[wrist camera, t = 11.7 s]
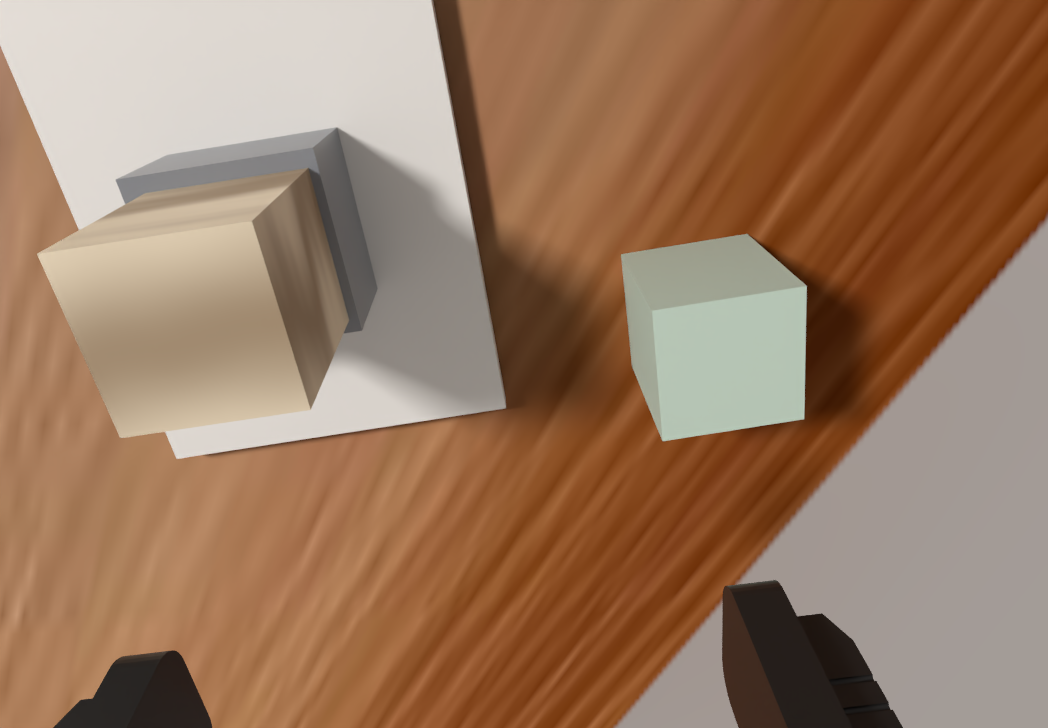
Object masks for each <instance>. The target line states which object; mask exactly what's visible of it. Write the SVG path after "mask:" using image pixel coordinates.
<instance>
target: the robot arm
mask: <svg viewBox="0 0 1048 728" xmlns="http://www.w3.org/2000/svg"><path fill="white" fill-rule="evenodd" d="M722 641H723V642H722V646H723V647H722V661H723V672H724V678H725V683H726V688H727V693H728V697H729V700H730V704H731V707H732V710H733V713H734V715H735V718H736V721H737V724H738V727H739V728H903V727H902V725H901V724H900V722H899V720H898V718H897V717H896V715H895V713H894V711H893V710H890V708H889V704H888V701H887V699H886V697H885V695H884V694H883V692H882V690H881V688H880V687H879V685H878V683H877V681H874V680H873V676H872V673H871V671H870V669H869V668H868V666H867V664H866V662H865V660H864V659H863V657H862V655H861V654H860V652H859V650H858V648H857V646H856V645H855V643H854V641H853V640H852V639H851V638H849V637H848V636H847V635H846V634H845V633H844V632H843V631H842V630H840V629H839V628H838V627H837V626H836V625H835V624H834V623H832V622H831V621H830V620H829V619H828V618H827V617H826V616H824V615H823V614H815V615H806V616H799V617H797V616H796V614H795V612H794V610H793V608H792V606H791V604H790V602H789V600H788V598H787V596H786V594H785V592H784V590H783V588H782V586H781V585H780V583H779V582H778V581H776V580H773V581H765V582H757V583H748V584H740V585H731V586H725V587H724V590H723V637H722ZM53 728H212V724H211V720H210V717H209V715H208V713H207V710H206V708H205V706H204V704H203V702H202V699H201V697H200V695H199V693H198V690H197V688H196V686H195V684H194V682H193V679H192V677H191V675H190V673H189V671H188V668H187V666H186V664H185V662H184V660H183V658H182V656H181V655H180V654H179V653H178V652H177V651H165V652H157V653H148V654H140V655H132V656H123V657H121V658H119V659H117V660H116V661H115V662H114V663H113V664H112V666H111V667H110V669H109V671H108V672H107V674H106V676H105V678H104V679H103V681H102V683H101V685H100V687H99V688H98V690H97V692H96V694H95V695H94V697H93V699H85V700H80V701H79V702H78V703H77V704H76V705H75V706H74V707H73V708H72V709H71V710H70V711H69V712H68V713H67V714H66V715H65V716H64V717H63V718H62V719H61V720H60V721H59V722H58V723H57V724H56V725H55V726H54V727H53Z"/></svg>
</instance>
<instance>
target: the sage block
mask: <svg viewBox="0 0 1048 728" xmlns="http://www.w3.org/2000/svg"><path fill="white" fill-rule="evenodd" d="M621 259H622V269H623V279H624V289H625V300H626V310H627V320H628V330H629V341H630V351H631V361H632V368H633V370H634V373H635V375H636V377H637V380H638V382H639V385H640V387H641V390H642V392H643V395H644V397H645V399H646V402H647V404H648V407H649V409H650V412H651V414H652V417H653V419H654V421H655V424H656V426H657V429H658V431H659V434H660V436H661V439H662V441H667V440H674V439H680V438H687V437H693V436H699V435H706V434H712V433H719V432H725V431H731V430H738V429H744V428H751V427H757V426H764V425H770V424H776V423H783V422H789V421H796V420H802V419H804V408H805V356H806V303H807V286H806V285H805V284H804V283H803V282H802V281H801V280H799V279H798V278H797V277H796V276H795V275H794V274H793V273H791V272H790V271H789V270H788V269H787V268H786V267H785V266H783V265H782V264H781V263H780V262H779V261H778V260H777V259H775V258H774V257H773V256H772V255H771V254H770V253H768V252H767V251H766V250H765V249H764V248H763V247H762V246H760V245H759V244H758V243H757V242H756V241H755V240H754V239H752V238H751V237H750V236H749V235H748V234H744V235H738V236H732V237H725V238H719V239H713V240H707V241H701V242H694V243H688V244H682V245H676V246H670V247H663V248H657V249H651V250H645V251H639V252H632V253H626V254H621Z"/></svg>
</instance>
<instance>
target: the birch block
mask: <svg viewBox="0 0 1048 728" xmlns="http://www.w3.org/2000/svg"><path fill="white" fill-rule="evenodd" d="M37 255H38V257H39V259H40V262H41V264H42V266H43V268H44V270H45V273H46V275H47V277H48V279H49V282H50V284H51V286H52V288H53V290H54V293H55V295H56V297H57V299H58V301H59V304H60V306H61V308H62V310H63V312H64V315H65V317H66V319H67V321H68V323H69V326H70V328H71V330H72V332H73V335H74V337H75V339H76V341H77V343H78V346H79V348H80V350H81V352H82V354H83V357H84V359H85V361H86V363H87V365H88V368H89V370H90V372H91V374H92V376H93V379H94V381H95V383H96V385H97V388H98V390H99V392H100V394H101V396H102V399H103V401H104V403H105V405H106V407H107V410H108V412H109V414H110V416H111V418H112V421H113V423H114V425H115V427H116V430H117V432H118V434H119V436H120V438H125V437H132V436H139V435H146V434H152V433H159V432H166V431H172V430H179V429H186V428H193V427H199V426H206V425H213V424H219V423H226V422H233V421H240V420H246V419H253V418H260V417H267V416H273V415H280V414H287V413H293V412H300V411H307V410H311V408H312V406H313V403H314V401H315V399H316V396H317V394H318V392H319V389H320V387H321V385H322V382H323V380H324V378H325V375H326V373H327V371H328V368H329V366H330V364H331V361H332V359H333V357H334V354H335V352H336V350H337V347H338V345H339V343H340V340H341V338H342V336H343V333H344V331H345V329H346V326H347V324H348V321H349V318H348V314H347V310H346V307H345V303H344V299H343V295H342V292H341V288H340V284H339V280H338V277H337V273H336V269H335V266H334V262H333V258H332V254H331V251H330V247H329V243H328V239H327V236H326V232H325V228H324V225H323V221H322V217H321V213H320V210H319V206H318V202H317V199H316V195H315V191H314V187H313V184H312V180H311V176H310V172H309V169H308V168H305V169H298V170H292V171H285V172H279V173H272V174H266V175H260V176H253V177H247V178H240V179H234V180H227V181H221V182H214V183H208V184H202V185H195V186H189V187H182V188H176V189H169V190H163V191H156V192H150V193H145V194H143V195H141V196H139V197H138V198H136V199H134V200H132V201H130V202H129V203H127V204H125V205H123V206H122V207H120V208H118V209H116V210H114V211H113V212H111V213H109V214H107V215H106V216H104V217H102V218H100V219H98V220H97V221H95V222H93V223H91V224H90V225H88V226H86V227H84V228H82V229H81V230H79V231H77V232H75V233H73V234H72V235H70V236H68V237H66V238H65V239H63V240H61V241H59V242H57V243H56V244H54V245H52V246H50V247H49V248H47V249H45V250H43V251H41V252H40V253H38V254H37Z"/></svg>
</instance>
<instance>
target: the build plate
mask: <svg viewBox="0 0 1048 728" xmlns="http://www.w3.org/2000/svg"><path fill="white" fill-rule="evenodd" d="M0 46H1V48H2V51H3V53H4V55H5V58H6V60H7V62H8V65H9V67H10V69H11V72H12V74H13V76H14V79H15V81H16V83H17V86H18V88H19V90H20V93H21V95H22V97H23V100H24V102H25V104H26V107H27V109H28V111H29V114H30V116H31V118H32V121H33V123H34V125H35V128H36V130H37V133H38V135H39V137H40V140H41V142H42V144H43V147H44V149H45V151H46V154H47V156H48V158H49V161H50V163H51V165H52V168H53V170H54V172H55V175H56V177H57V179H58V182H59V184H60V186H61V189H62V191H63V193H64V196H65V198H66V200H67V203H68V205H69V208H70V210H71V212H72V215H73V217H74V219H75V222H76V224H77V226H78V229H79V230H81V229H82V228H84V227H86V226H88V225H90V224H91V223H93V222H95V221H97V220H98V219H100V218H102V217H104V216H106V215H107V214H109V213H111V212H113V211H114V210H116V209H118V208H120V207H122V206H123V205H125V204H127V203H129V202H130V201H132V200H134V199H136V198H138V197H139V196H141V195H143V194H145V193H150V192H156V191H163V190H169V189H176V188H182V187H189V186H195V185H202V184H208V183H214V182H221V181H227V180H234V179H240V178H247V177H253V176H260V175H266V174H272V173H279V172H285V171H292V170H298V169H305V168H308V169H309V172H310V176H311V180H312V184H313V187H314V191H315V195H316V199H317V202H318V206H319V210H320V213H321V217H322V221H323V225H324V228H325V232H326V236H327V239H328V243H329V247H330V251H331V254H332V258H333V262H334V266H335V269H336V273H337V277H338V280H339V284H340V288H341V292H342V295H343V299H344V303H345V307H346V310H347V314H348V318H349V321H348V324H347V326H346V329H345V331H344V333H343V336H342V338H341V340H340V343H339V345H338V347H337V350H336V352H335V354H334V357H333V359H332V361H331V364H330V366H329V368H328V371H327V373H326V375H325V378H324V380H323V382H322V385H321V387H320V389H319V392H318V394H317V396H316V399H315V401H314V403H313V406H312V408H311V410H307V411H300V412H293V413H287V414H280V415H273V416H267V417H260V418H253V419H246V420H240V421H233V422H226V423H219V424H213V425H206V426H199V427H193V428H186V429H179V430H172V431H166V435H167V437H168V439H169V442H170V444H171V447H172V449H173V451H174V454H175V456H176V458H177V459H179V458H186V457H192V456H199V455H205V454H212V453H218V452H225V451H231V450H238V449H244V448H251V447H257V446H264V445H270V444H277V443H283V442H290V441H296V440H303V439H309V438H316V437H322V436H329V435H335V434H342V433H349V432H355V431H362V430H368V429H375V428H381V427H388V426H394V425H401V424H407V423H414V422H420V421H427V420H433V419H440V418H446V417H453V416H459V415H466V414H472V413H479V412H485V411H492V410H498V409H505V408H506V397H505V391H504V386H503V380H502V375H501V369H500V364H499V358H498V353H497V347H496V342H495V336H494V331H493V325H492V320H491V314H490V309H489V304H488V298H487V293H486V287H485V282H484V276H483V271H482V265H481V260H480V254H479V249H478V243H477V238H476V232H475V227H474V221H473V216H472V210H471V205H470V199H469V194H468V188H467V183H466V177H465V172H464V166H463V161H462V155H461V150H460V144H459V139H458V133H457V128H456V122H455V117H454V111H453V106H452V101H451V95H450V90H449V84H448V79H447V73H446V68H445V62H444V57H443V51H442V46H441V40H440V35H439V29H438V24H437V18H436V13H435V7H434V2H433V0H0Z"/></svg>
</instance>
